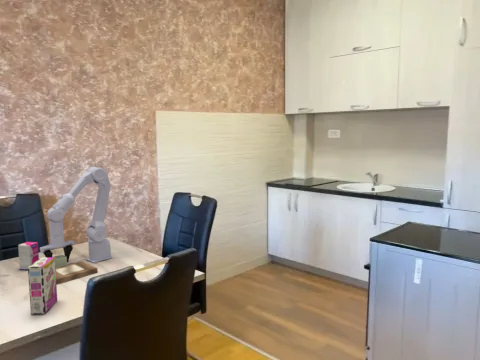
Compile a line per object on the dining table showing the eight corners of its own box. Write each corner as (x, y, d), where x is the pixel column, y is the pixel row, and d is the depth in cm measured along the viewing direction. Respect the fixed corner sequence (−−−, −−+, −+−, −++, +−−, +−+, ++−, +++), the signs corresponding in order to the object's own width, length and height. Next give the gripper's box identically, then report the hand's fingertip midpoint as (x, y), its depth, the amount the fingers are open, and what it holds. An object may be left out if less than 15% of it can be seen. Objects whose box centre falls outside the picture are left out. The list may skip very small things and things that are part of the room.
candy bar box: (46, 314, 130) (42, 266, 128) (30, 315, 130) (26, 267, 128) (58, 300, 141) (55, 256, 139) (44, 300, 141) (40, 256, 139)
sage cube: (62, 265, 179) (61, 254, 179) (67, 267, 176) (66, 256, 176) (51, 268, 176) (50, 257, 175) (56, 270, 172) (55, 259, 172)
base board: (82, 265, 178) (81, 260, 178) (97, 272, 169) (97, 267, 169) (41, 276, 165) (40, 271, 165) (55, 284, 156) (54, 279, 155)
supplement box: (30, 270, 172) (28, 245, 171) (19, 270, 173) (17, 245, 172) (40, 266, 178) (38, 241, 176) (28, 265, 179) (26, 241, 178)
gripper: (68, 230, 182) (70, 258, 184) (36, 236, 171) (38, 266, 173) (75, 232, 177) (77, 261, 179) (42, 239, 167) (45, 269, 168)
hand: (59, 264), depth 176 cm, fingers open, 6 cm apart
